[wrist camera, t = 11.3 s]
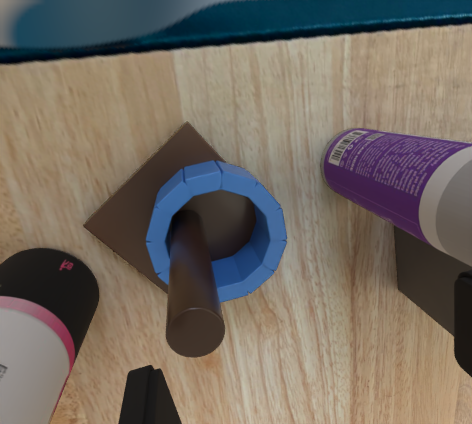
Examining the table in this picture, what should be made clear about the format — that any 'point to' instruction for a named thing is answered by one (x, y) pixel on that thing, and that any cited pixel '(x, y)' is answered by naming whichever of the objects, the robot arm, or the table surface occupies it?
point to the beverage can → (41, 330)
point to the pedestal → (427, 277)
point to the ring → (249, 256)
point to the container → (407, 183)
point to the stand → (179, 239)
